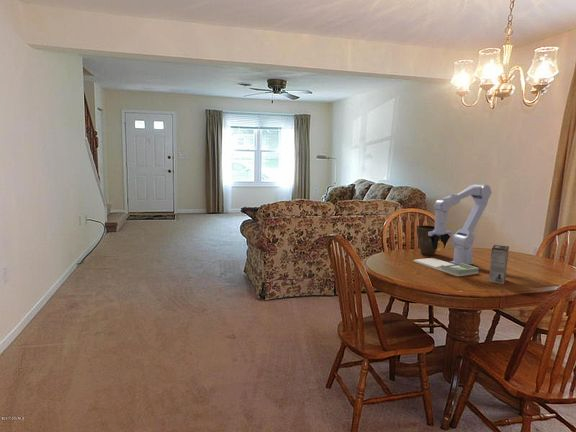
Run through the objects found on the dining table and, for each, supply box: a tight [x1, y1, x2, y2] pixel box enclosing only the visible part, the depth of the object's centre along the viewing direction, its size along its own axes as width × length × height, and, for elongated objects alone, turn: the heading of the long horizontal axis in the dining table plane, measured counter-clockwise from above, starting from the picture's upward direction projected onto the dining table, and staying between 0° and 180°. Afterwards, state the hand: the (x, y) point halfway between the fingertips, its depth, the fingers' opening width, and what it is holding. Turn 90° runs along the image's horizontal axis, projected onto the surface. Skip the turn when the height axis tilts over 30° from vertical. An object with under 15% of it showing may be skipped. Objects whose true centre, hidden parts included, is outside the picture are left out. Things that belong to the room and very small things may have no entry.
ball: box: [436, 240, 445, 252], centre depth 209 cm, size 5×5×5 cm
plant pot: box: [416, 224, 441, 256], centre depth 235 cm, size 15×15×16 cm
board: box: [413, 257, 480, 277], centre depth 206 cm, size 14×30×3 cm, turn 25°
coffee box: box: [488, 244, 510, 285], centre depth 183 cm, size 9×6×16 cm
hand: (438, 248), depth 209 cm, fingers closed on ball, 5 cm apart
